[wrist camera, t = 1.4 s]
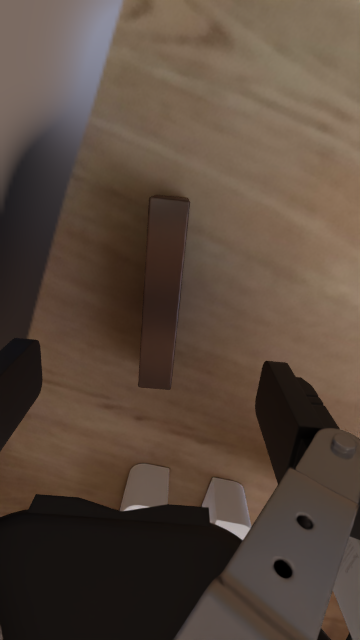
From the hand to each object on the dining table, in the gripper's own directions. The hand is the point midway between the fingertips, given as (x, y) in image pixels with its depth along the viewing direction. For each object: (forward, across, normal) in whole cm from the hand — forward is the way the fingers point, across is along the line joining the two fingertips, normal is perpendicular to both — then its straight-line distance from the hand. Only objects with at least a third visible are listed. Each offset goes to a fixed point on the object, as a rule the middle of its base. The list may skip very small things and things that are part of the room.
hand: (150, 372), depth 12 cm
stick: (+10, 0, 0) cm, 10 cm away
